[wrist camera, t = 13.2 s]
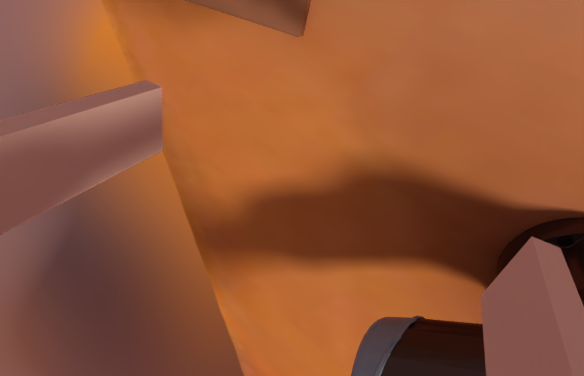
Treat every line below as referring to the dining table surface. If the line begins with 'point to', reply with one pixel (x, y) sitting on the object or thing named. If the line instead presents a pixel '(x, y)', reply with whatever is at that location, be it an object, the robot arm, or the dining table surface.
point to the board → (265, 12)
